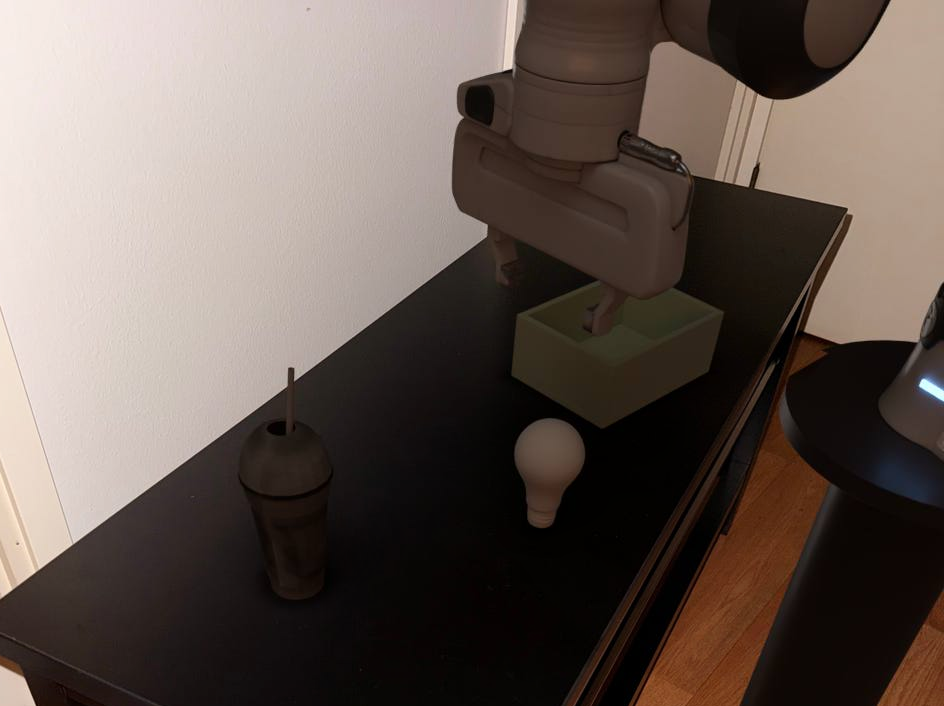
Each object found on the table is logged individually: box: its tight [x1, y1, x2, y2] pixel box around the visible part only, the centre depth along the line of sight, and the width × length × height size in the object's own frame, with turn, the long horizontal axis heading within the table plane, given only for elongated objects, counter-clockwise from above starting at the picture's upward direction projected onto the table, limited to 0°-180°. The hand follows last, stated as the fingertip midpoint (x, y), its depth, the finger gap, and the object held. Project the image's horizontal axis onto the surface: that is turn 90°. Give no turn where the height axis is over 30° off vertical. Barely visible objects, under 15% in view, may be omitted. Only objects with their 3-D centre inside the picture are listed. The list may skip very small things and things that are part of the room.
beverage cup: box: [237, 366, 334, 601], centre depth 73 cm, size 7×7×20 cm
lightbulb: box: [513, 417, 586, 529], centre depth 84 cm, size 6×6×11 cm
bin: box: [511, 279, 725, 430], centre depth 104 cm, size 19×14×7 cm
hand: (551, 307), depth 73 cm, fingers open, 8 cm apart
